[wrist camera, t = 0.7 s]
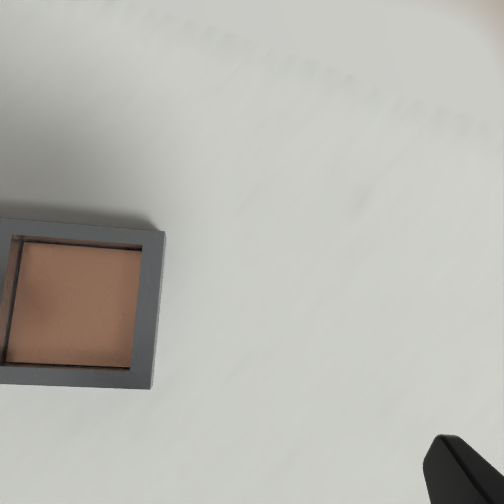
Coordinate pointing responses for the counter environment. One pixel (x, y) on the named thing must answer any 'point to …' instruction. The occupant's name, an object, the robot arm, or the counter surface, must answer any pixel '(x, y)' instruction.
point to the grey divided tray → (79, 304)
